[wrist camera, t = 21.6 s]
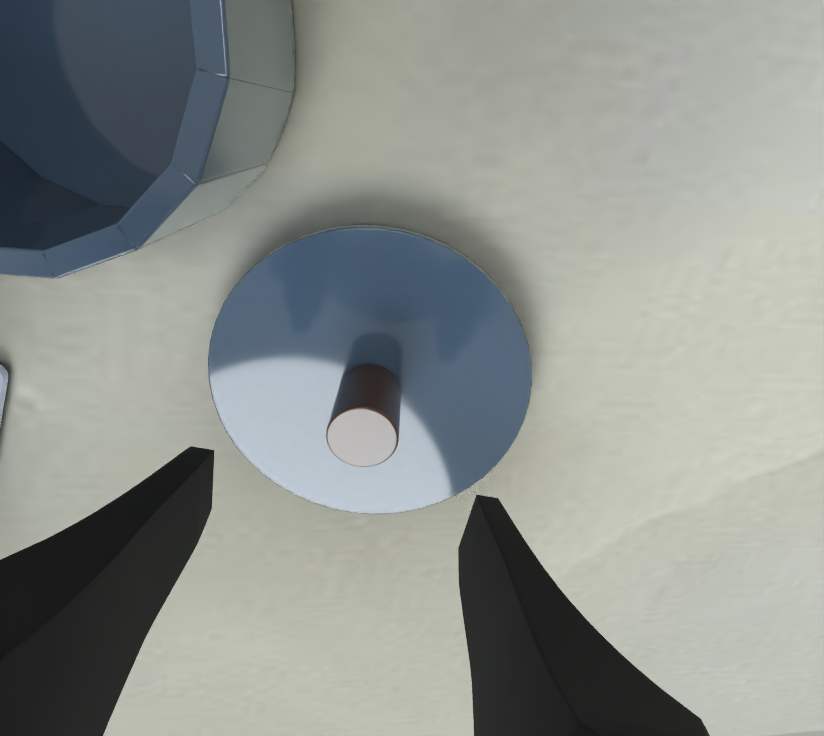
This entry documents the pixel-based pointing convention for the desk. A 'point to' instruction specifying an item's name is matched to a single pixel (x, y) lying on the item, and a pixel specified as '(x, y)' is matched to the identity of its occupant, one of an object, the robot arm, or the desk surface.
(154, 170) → the pot
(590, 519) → the desk surface
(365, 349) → the pot lid
